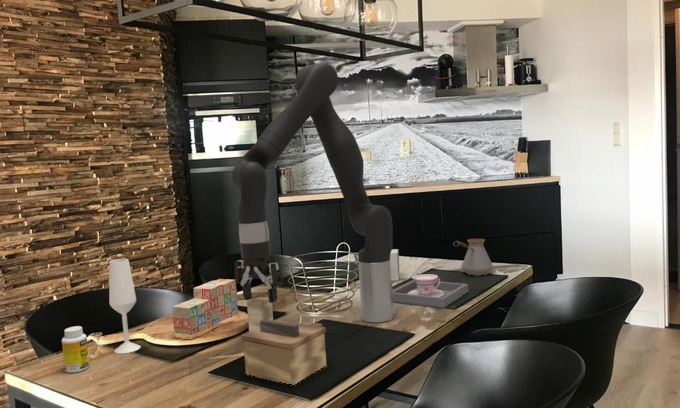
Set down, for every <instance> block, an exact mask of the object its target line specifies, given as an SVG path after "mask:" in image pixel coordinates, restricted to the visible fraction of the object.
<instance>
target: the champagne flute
mask: <svg viewBox="0 0 680 408" xmlns="http://www.w3.org/2000/svg"><path fill="white" fill-rule="evenodd" d="M108 265H109V267H108V268H109V270H108V271H109V273H108V275H109V277H108V278H109V282H108V283H109V284H108V285H109V286H108V287H109V288H108V290H109V292H108V293H109V295H108V296H109V298H108V299H109V305H110V307H111V308H112V309H113V310H114V311H116V312H117V313H118V314H120V315H121V319H122V328H123V330H122V331H123V340H124V342H123V343H122V344H120V345H118V347H116V348H115V349H114V350H113V352H114V353H116V354H128V353H133V352H136V351H138V350H139V349H141V345H139V344H137V343H134V342H132V341H130V337H129V327H128V326H129V323H128V315H127V313H129V312H130V311H131V310H132V309H133V308H134V306H135V304H136V303H137V295H136V291H135V285H134V281H133V275H132V271H131V270H132V269H131V267H130V265H131V264H130V261H129V259H128V258H118V259H117V258H115V259H112V260H109V263H108Z"/></svg>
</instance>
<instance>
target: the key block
mask: <svg viewBox="0 0 680 408" xmlns="http://www.w3.org/2000/svg"><path fill="white" fill-rule="evenodd" d="M246 305H247V307H246V308H247V321H248V332H250V331H252V330H255V329H257V328H259V327H260V321H262V320H264V319H265V320H272V321H274V316H273V315H274V314H273V303H269V298H268V297H266V298H265V297H259V296H258V297H256V298H253V299H249V300H246Z"/></svg>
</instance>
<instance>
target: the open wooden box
mask: <svg viewBox="0 0 680 408" xmlns="http://www.w3.org/2000/svg"><path fill="white" fill-rule="evenodd" d="M242 341H243V353H244V363H245V364H244V366H245V375H246V374H247V375H246V376H249V375H251V376H250V377H253V376H255V377H254V378H259V379H262V378H263V379H262V380H266V379H267V381H270V380H271V382H275V381H276V382H275V383H279V382H282V383H281V384H283V383H286V384H285V385H287V384H292V385H295V384H297V383H298V382H300V381H301V380H303V379H305V378H306V377H308V376H310V375H311V374H313V373H315V372H316V371H318V370H320V369H321V368H323V367H325V366H326V367H327V354H326V339H325V333H323V334H321V335H319V336H317V337H315V338H313V339H311V340H309V341H307V342H305V343H303V344H301V345H299V346H297V347H295V348H293V349H288V348H282V347H277V346H272V345H267V344H261V343H256V342H251V341H246V340H242ZM326 367H325V368H326ZM320 371H321V370H320ZM315 374H316V373H315ZM310 377H311V376H310ZM305 380H306V379H305ZM300 383H301V382H300ZM292 385H291V386H292ZM297 385H298V384H297ZM295 386H296V385H295Z"/></svg>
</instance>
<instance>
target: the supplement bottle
mask: <svg viewBox="0 0 680 408" xmlns="http://www.w3.org/2000/svg"><path fill="white" fill-rule="evenodd" d="M61 345H62V346H61V347H62V348H61V349H62V356H63V364H64V365H63V367H64V370H65V372H66V373H71V374H72V373H79V372H83V371H85V370H87V369H88V368H89V367H90V359H89V347H88V338H87V335H86V334H85V333H84V331H83V327H82V326H80V325H76V326H70V327H67V328H65V329H64V336H63V337H62V339H61Z"/></svg>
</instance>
